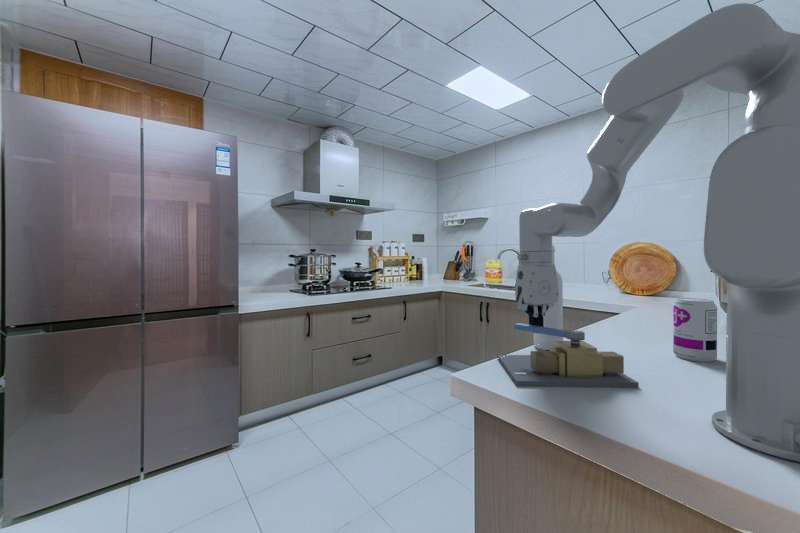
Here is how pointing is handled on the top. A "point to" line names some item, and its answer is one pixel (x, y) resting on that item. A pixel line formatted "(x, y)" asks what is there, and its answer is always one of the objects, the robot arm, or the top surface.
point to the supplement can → (695, 329)
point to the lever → (552, 331)
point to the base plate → (556, 376)
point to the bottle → (552, 319)
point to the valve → (576, 361)
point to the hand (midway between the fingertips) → (536, 331)
